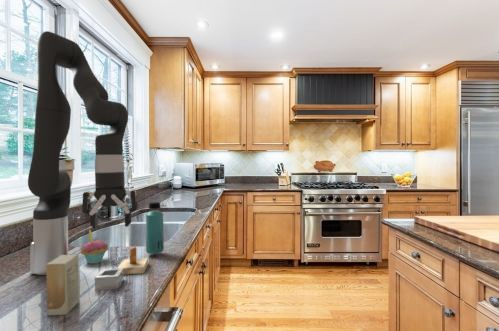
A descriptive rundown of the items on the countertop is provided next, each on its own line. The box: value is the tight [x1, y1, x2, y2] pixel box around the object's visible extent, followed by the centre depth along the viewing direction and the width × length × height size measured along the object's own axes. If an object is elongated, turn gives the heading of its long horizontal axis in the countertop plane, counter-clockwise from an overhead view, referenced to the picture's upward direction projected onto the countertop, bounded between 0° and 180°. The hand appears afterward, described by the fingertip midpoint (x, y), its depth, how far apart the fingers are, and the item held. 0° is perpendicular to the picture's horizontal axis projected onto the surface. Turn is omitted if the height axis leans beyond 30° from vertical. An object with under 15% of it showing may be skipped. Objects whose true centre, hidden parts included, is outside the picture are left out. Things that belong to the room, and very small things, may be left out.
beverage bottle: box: [145, 201, 165, 255], centre depth 106 cm, size 6×7×20 cm
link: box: [94, 267, 125, 291], centre depth 81 cm, size 6×6×4 cm
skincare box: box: [46, 254, 80, 316], centre depth 68 cm, size 6×4×12 cm
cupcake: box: [80, 228, 109, 265], centre depth 100 cm, size 9×8×12 cm
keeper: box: [116, 246, 149, 275], centre depth 92 cm, size 8×8×7 cm
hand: (111, 226), depth 81 cm, fingers open, 8 cm apart
